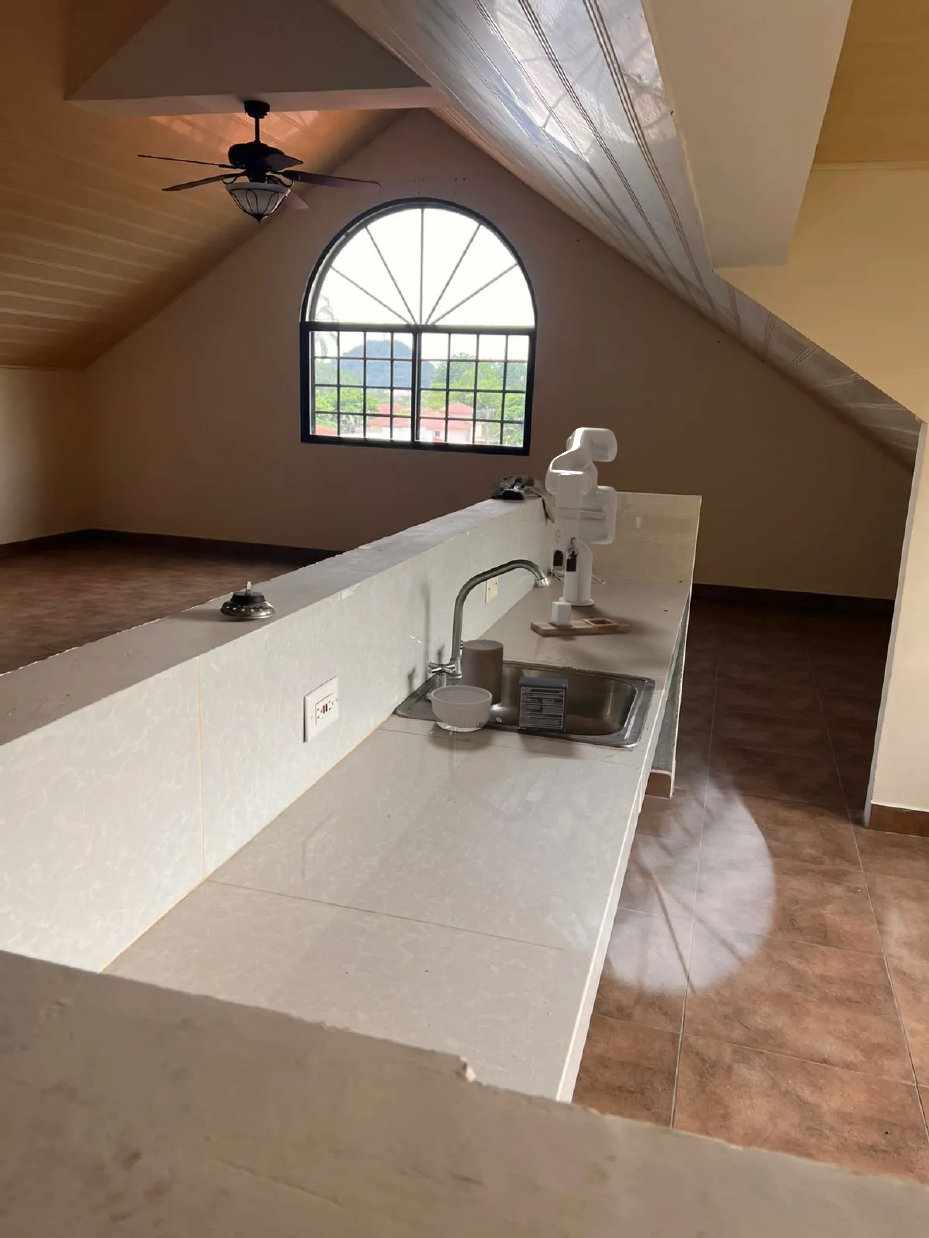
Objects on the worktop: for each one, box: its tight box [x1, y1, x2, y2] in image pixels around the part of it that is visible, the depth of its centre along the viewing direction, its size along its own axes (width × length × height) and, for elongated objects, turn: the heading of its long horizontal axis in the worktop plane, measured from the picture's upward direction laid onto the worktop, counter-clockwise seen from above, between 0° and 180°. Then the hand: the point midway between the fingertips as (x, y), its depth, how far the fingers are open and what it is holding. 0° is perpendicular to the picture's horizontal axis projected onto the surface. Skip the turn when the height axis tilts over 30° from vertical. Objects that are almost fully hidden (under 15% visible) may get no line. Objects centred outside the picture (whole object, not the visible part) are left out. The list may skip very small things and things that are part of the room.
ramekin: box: [430, 684, 492, 728], centre depth 196 cm, size 13×13×7 cm
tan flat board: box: [530, 617, 631, 637], centre depth 287 cm, size 10×30×2 cm, turn 108°
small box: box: [516, 676, 569, 733], centre depth 197 cm, size 11×6×10 cm, turn 84°
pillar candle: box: [461, 638, 504, 706], centre depth 212 cm, size 10×10×15 cm
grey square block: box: [550, 601, 572, 628], centre depth 284 cm, size 4×4×9 cm
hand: (564, 568), depth 281 cm, fingers open, 9 cm apart
